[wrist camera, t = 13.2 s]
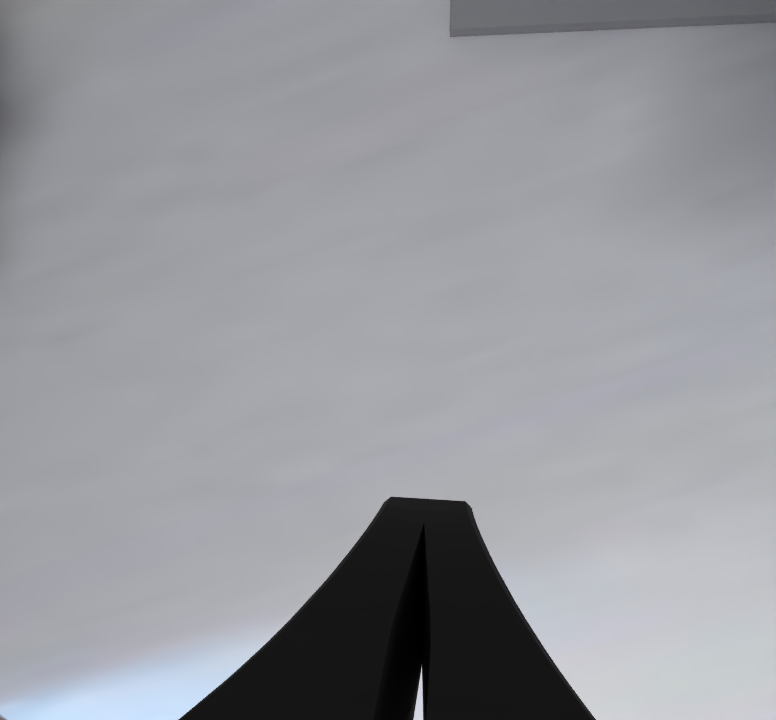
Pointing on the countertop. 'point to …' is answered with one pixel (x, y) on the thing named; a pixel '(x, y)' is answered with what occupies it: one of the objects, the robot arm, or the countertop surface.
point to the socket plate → (599, 15)
